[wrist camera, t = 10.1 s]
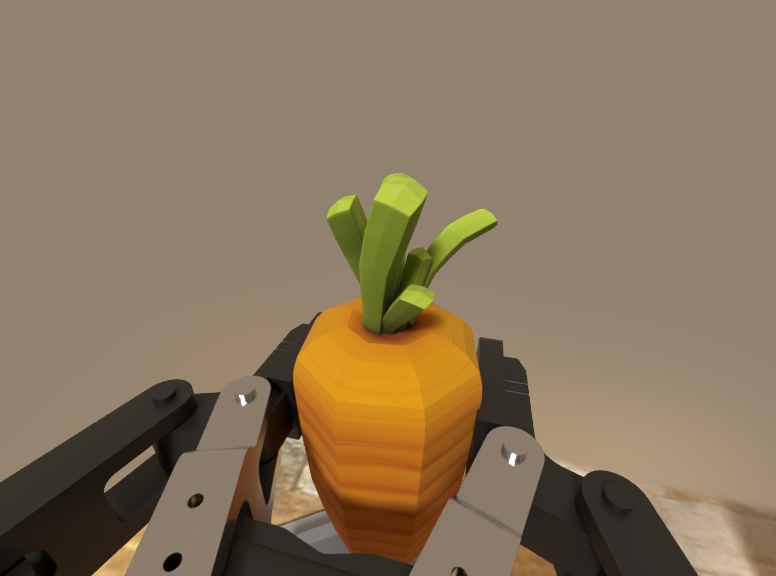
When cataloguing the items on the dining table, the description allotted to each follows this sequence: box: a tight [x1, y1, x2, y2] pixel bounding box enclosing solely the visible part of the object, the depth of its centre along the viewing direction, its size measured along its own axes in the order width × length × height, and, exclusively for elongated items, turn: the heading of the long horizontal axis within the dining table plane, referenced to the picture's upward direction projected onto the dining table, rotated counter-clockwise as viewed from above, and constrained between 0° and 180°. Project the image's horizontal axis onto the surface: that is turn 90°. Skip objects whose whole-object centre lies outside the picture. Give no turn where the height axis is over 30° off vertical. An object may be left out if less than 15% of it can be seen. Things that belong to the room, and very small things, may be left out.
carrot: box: [293, 173, 497, 564], centre depth 11 cm, size 5×5×15 cm
